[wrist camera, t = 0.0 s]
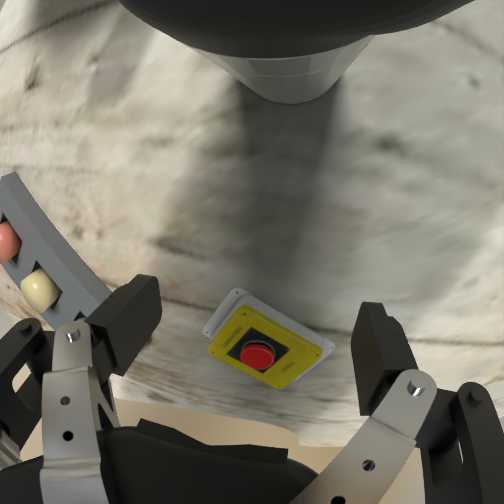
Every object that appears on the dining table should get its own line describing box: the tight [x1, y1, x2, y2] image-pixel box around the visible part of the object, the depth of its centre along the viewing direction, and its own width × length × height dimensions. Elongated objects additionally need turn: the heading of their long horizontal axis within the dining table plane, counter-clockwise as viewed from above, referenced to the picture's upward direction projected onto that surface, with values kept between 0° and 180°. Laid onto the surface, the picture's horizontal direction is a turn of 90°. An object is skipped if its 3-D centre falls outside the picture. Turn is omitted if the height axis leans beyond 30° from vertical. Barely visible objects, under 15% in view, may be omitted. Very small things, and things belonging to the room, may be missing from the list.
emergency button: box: [202, 287, 336, 389], centre depth 32 cm, size 9×4×15 cm
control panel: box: [0, 172, 112, 331], centre depth 35 cm, size 32×16×3 cm, turn 43°
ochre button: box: [21, 267, 61, 313], centre depth 33 cm, size 6×6×4 cm
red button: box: [0, 220, 22, 264], centre depth 30 cm, size 6×6×4 cm
